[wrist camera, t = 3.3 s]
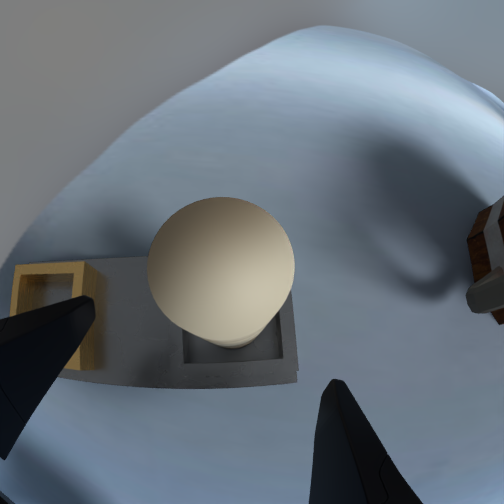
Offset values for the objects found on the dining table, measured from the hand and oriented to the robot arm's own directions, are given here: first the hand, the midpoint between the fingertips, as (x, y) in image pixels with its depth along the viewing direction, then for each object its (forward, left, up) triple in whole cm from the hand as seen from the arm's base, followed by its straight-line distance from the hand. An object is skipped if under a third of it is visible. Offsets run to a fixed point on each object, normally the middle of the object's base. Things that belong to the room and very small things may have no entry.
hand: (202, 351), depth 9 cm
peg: (+1, -2, -8) cm, 9 cm away
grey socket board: (+5, +4, -10) cm, 11 cm away
